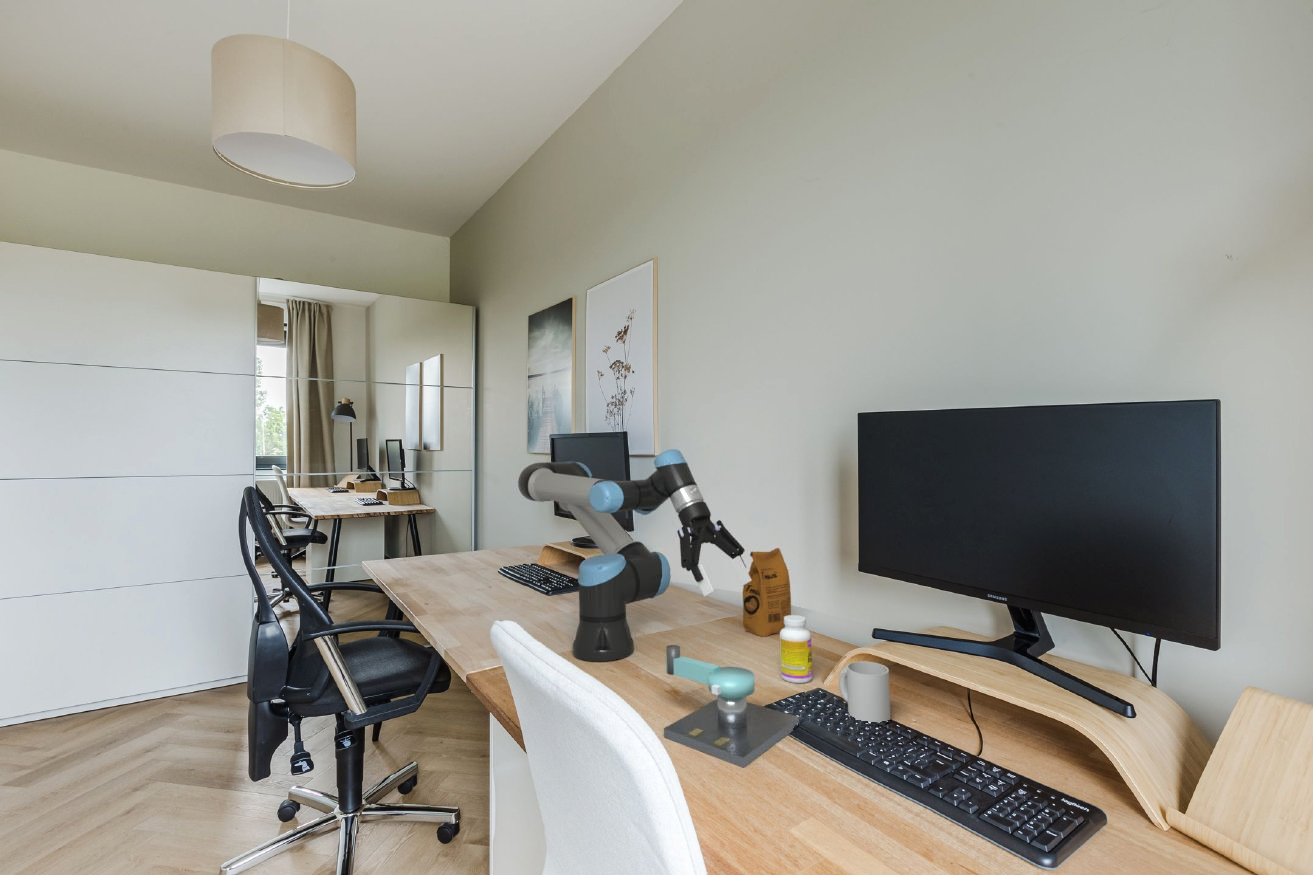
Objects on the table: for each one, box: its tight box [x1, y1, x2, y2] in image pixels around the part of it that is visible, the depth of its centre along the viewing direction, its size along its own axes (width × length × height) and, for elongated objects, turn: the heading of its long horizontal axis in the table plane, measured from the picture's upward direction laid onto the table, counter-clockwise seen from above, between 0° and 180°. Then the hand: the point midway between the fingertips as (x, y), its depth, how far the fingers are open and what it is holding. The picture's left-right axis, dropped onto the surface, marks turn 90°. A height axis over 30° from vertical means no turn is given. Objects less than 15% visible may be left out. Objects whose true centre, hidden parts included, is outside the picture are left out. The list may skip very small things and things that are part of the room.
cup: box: [838, 660, 891, 723], centre depth 107 cm, size 7×10×9 cm
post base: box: [663, 696, 800, 768], centre depth 102 cm, size 16×18×7 cm
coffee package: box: [742, 547, 792, 638], centre depth 162 cm, size 10×12×22 cm
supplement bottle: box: [779, 614, 813, 684], centre depth 126 cm, size 7×7×13 cm
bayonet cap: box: [665, 644, 756, 698], centre depth 106 cm, size 18×10×5 cm, turn 49°
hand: (728, 588), depth 135 cm, fingers open, 13 cm apart
